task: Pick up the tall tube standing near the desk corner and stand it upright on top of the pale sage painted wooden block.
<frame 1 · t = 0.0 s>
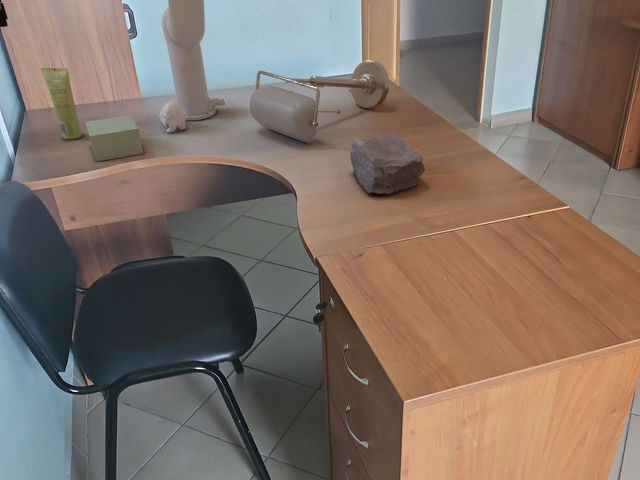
hand: (1, 23, 151), 31 cm above the table, tool pointing down, fingers open, 9 cm apart
white irregular rounded piece: (172, 128, 175), on the table
stone block: (387, 182, 143), on the table
tube: (73, 137, 170), on the table
lamp: (327, 122, 179), on the table
block: (117, 149, 162), on the table
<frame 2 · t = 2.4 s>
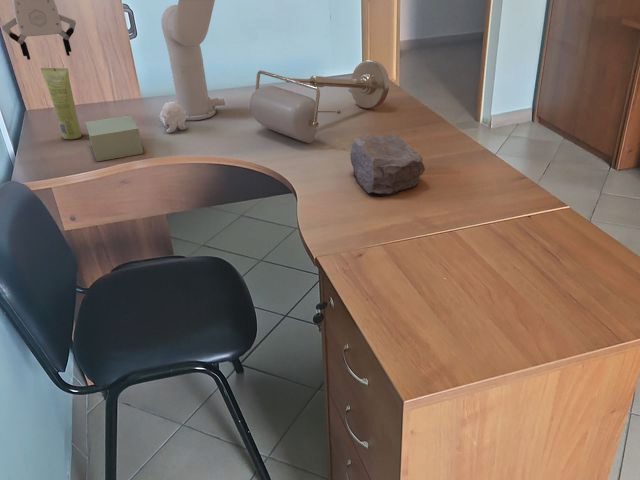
hand: (48, 56, 157), 22 cm above the table, tool pointing down, fingers open, 9 cm apart
nothing on the table moved.
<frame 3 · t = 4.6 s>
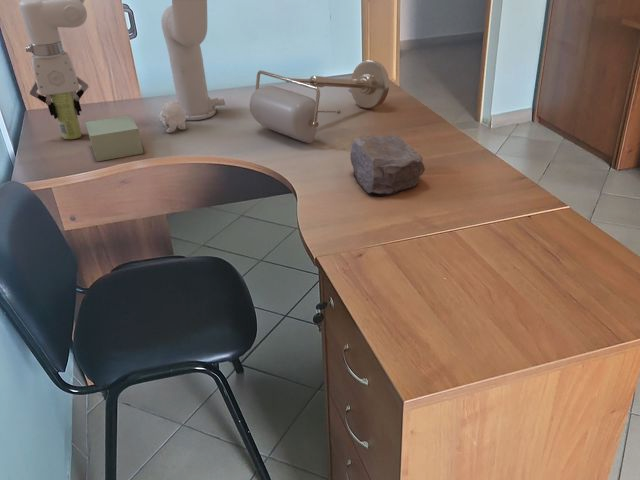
hand: (67, 115, 166), 6 cm above the table, tool pointing down, fingers closed on tube, 5 cm apart
tube: (73, 137, 170), on the table, touching gripper
everything else where it was.
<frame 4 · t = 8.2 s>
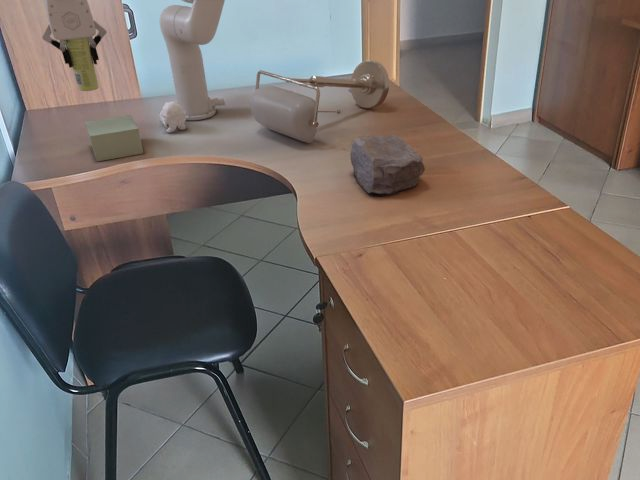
hand: (82, 64, 152), 22 cm above the table, tool pointing down, fingers closed on tube, 5 cm apart
tube: (90, 89, 156), point 16 cm above the table, touching gripper
everything else where it was.
when the fingers open (13 cm above the table, at t = 11.7 s): tube stays where it is, resting on block.
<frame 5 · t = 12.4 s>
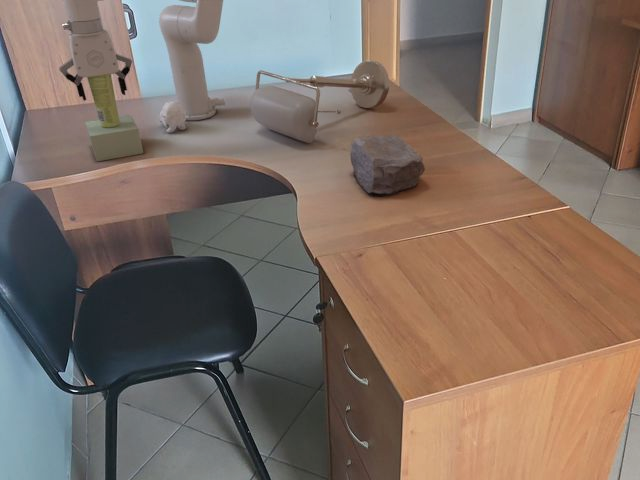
hand: (104, 96, 153), 15 cm above the table, tool pointing down, fingers open, 9 cm apart
tube: (111, 125, 158), point 7 cm above the table, touching block
block: (117, 149, 162), on the table, touching tube
everything else where it was.
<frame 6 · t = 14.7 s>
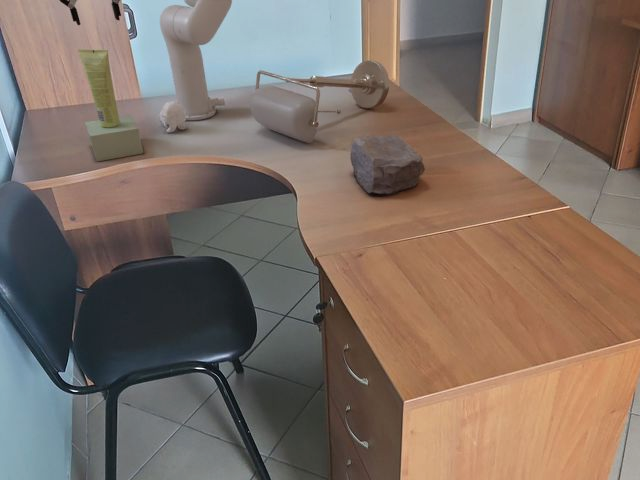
hand: (98, 21, 153), 31 cm above the table, tool pointing down, fingers open, 9 cm apart
nothing on the table moved.
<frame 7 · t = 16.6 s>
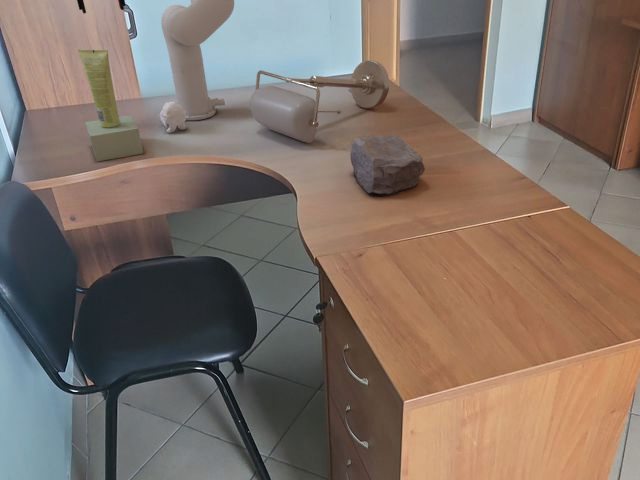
hand: (103, 10, 159), 32 cm above the table, tool pointing down, fingers open, 9 cm apart
nothing on the table moved.
at the end: tube inside the target area on the block (0.0 cm from its centre), point 6.8 cm above the block's base; tube tilted 0°; the gripper is holding nothing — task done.
